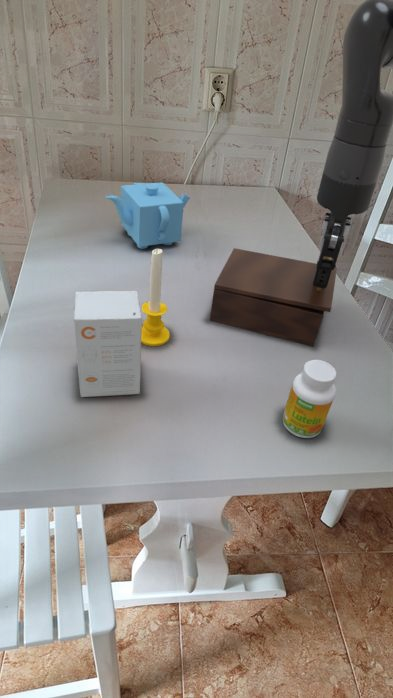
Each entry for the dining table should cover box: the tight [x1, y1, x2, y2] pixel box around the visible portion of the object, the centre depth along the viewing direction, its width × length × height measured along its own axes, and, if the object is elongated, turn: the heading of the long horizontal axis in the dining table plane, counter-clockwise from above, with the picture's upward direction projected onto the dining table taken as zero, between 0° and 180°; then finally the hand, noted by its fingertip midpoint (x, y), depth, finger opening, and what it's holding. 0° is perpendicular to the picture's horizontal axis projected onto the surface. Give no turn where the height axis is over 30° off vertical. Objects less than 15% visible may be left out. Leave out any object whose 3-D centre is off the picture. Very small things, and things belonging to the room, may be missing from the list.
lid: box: [213, 247, 338, 313], centre depth 80 cm, size 18×14×5 cm
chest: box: [209, 288, 325, 348], centre depth 84 cm, size 18×14×6 cm
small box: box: [73, 290, 143, 398], centre depth 64 cm, size 8×6×13 cm
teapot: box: [104, 181, 191, 249], centre depth 99 cm, size 16×18×11 cm
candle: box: [141, 246, 171, 347], centre depth 72 cm, size 5×5×16 cm
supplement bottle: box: [282, 359, 337, 439], centre depth 63 cm, size 5×5×10 cm
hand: (321, 277), depth 79 cm, fingers closed on lid, 5 cm apart
